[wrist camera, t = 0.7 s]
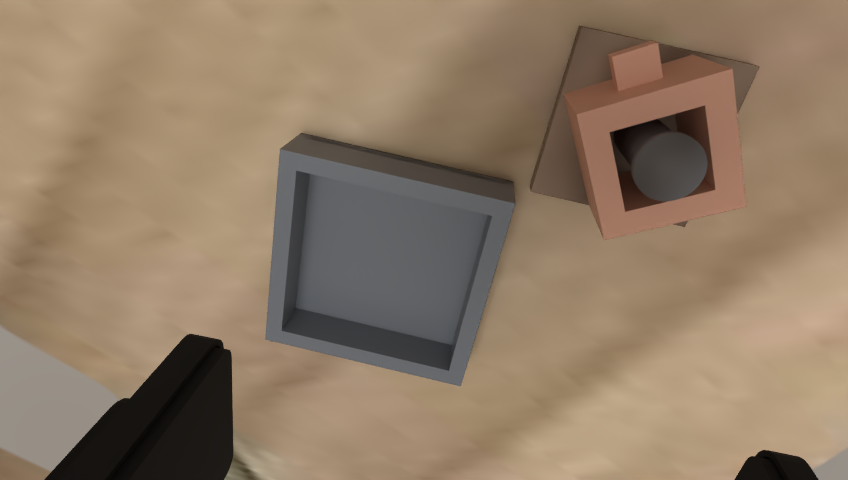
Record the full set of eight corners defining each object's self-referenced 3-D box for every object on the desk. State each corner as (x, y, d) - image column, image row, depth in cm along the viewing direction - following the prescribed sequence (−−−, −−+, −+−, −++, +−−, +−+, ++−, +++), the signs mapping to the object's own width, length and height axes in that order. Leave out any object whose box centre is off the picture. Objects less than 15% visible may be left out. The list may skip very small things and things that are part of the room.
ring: (688, 21, 26) (728, 29, 21) (707, 172, 29) (746, 206, 24) (556, 63, 27) (568, 79, 23) (588, 202, 30) (604, 240, 26)
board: (750, 64, 27) (828, 87, 21) (679, 220, 31) (726, 279, 25) (579, 25, 27) (604, 37, 21) (529, 185, 31) (538, 236, 25)
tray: (513, 181, 31) (515, 203, 28) (463, 352, 37) (460, 386, 34) (301, 133, 32) (279, 149, 29) (284, 310, 38) (265, 339, 34)
